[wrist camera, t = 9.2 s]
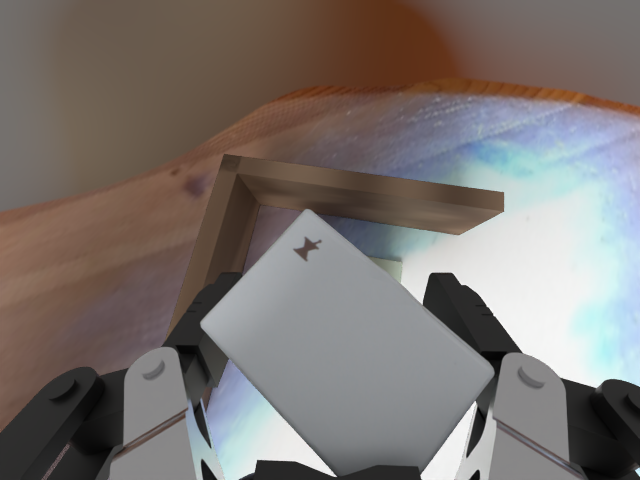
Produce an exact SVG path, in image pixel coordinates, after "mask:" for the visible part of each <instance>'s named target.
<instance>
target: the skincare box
mask: <svg viewBox="0 0 640 480" xmlns="http://www.w3.org/2000/svg"><path fill="white" fill-rule="evenodd" d="M200 324H201V328H202V329H203V330H204V331H205V332H206V333H207V334H208V335H209V336H210V338H211V339H212V340H213V341H214V342H215V343H216V344H217V346H218V347H219V348H220V349H221V350H222V351H223V352H224V353H225V354H226V356H227V357H228V358H229V359H230V360H231V361H232V362H233V363H234V364H235V366H236V367H237V368H238V369H239V370H240V371H241V372H242V373H243V374H244V376H245V377H246V378H247V379H248V380H249V381H250V382H251V383H252V384H253V386H254V387H255V388H256V389H257V390H258V391H259V392H260V393H261V394H262V395H263V396H264V398H265V399H266V400H267V401H268V402H269V403H270V404H271V405H272V406H273V407H274V409H275V410H276V411H277V412H278V413H279V414H280V415H281V416H282V417H283V418H284V419H285V420H286V421H287V422H288V424H289V425H290V426H291V427H292V428H293V429H294V430H295V431H296V432H297V433H298V434H299V435H300V436H301V437H302V439H303V440H304V441H305V442H306V443H307V444H308V445H309V446H310V447H311V448H312V449H313V451H314V452H315V453H316V454H317V455H318V456H319V457H320V458H321V459H322V460H323V461H324V462H325V464H326V465H327V466H328V467H329V468H330V469H331V470H332V471H333V473H334V474H335V475H336V476H337V477H342V476H345V475H348V474H351V473H354V472H357V471H360V470H363V469H366V468H369V467H372V466H375V465H396V466H418V468H419V472H420V475H421V473H422V472H423V471H424V469H425V468H426V467H427V465H428V464H429V463H430V461H431V460H432V459H433V457H434V456H435V455H436V453H437V452H438V451H439V449H440V448H441V447H442V445H443V444H444V442H445V441H446V440H447V438H448V437H449V436H450V434H451V433H452V431H453V430H454V429H455V427H456V426H457V424H458V423H459V422H460V420H461V419H462V418H463V416H464V415H465V414H466V412H467V411H468V409H469V408H470V407H471V405H472V404H473V403H474V401H475V400H476V399H477V397H478V396H479V395H480V393H481V392H482V391H483V389H484V388H485V387H486V385H487V384H488V383H489V382H490V380H491V379H492V378H493V376H494V373H495V372H494V369H493V367H492V366H491V365H490V363H489V362H488V361H487V360H486V359H484V358H483V357H482V356H481V355H480V354H479V353H477V352H476V351H475V350H474V349H473V348H472V347H470V346H469V345H468V344H467V343H466V342H465V341H463V340H462V339H461V338H460V337H459V336H457V335H456V334H455V333H454V332H453V331H452V330H450V329H449V328H448V327H447V326H446V325H445V324H444V323H443V322H441V321H440V320H439V319H438V318H437V317H435V316H434V315H433V314H432V313H431V312H430V311H429V310H427V309H426V308H425V307H424V306H423V305H422V304H421V303H420V302H419V301H417V300H416V299H415V298H414V297H413V296H412V295H411V294H410V292H409V291H408V290H407V289H406V288H405V287H403V286H402V285H401V284H400V283H399V282H398V281H397V280H396V279H395V278H394V277H392V276H391V275H390V274H389V273H388V272H386V271H385V270H384V269H382V268H381V267H379V266H378V265H376V264H375V263H374V262H373V261H372V260H370V259H369V258H368V257H367V256H366V255H364V254H363V253H362V252H361V251H360V250H358V249H357V248H356V247H355V246H354V245H353V244H351V243H350V242H349V241H348V240H347V239H345V238H344V237H343V236H342V235H341V234H339V233H338V232H337V231H336V230H335V229H333V228H332V227H331V226H330V225H329V224H327V223H326V222H325V221H324V220H323V219H321V218H320V217H319V216H318V215H317V214H315V213H314V212H313V211H312V210H310V209H305V210H304V211H303V212H302V213H301V214H300V215H299V216H298V217H297V218H296V219H295V221H294V222H293V223H292V224H291V225H290V226H289V227H288V228H287V229H286V230H285V232H284V233H283V234H282V235H281V236H280V237H279V238H278V239H277V240H276V241H275V242H274V243H273V244H272V246H271V247H270V248H269V249H268V250H267V251H266V252H265V253H264V254H263V255H262V256H261V257H260V258H259V260H258V261H257V262H256V263H255V264H254V265H253V266H252V267H251V268H250V269H249V270H248V271H247V272H246V274H245V275H244V276H243V277H242V278H241V279H240V280H239V281H238V282H237V283H236V284H235V285H234V286H233V287H232V288H231V290H230V291H229V292H228V293H227V294H226V295H225V296H224V297H223V298H222V299H221V300H220V301H219V302H218V303H217V304H216V305H215V307H214V308H213V309H212V310H211V311H210V312H209V313H208V314H207V315H206V316H205V317H204V318H203V319H202V321H201V322H200Z"/></svg>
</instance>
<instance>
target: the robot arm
mask: <svg viewBox="0 0 640 480" xmlns="http://www.w3.org/2000/svg"><path fill="white" fill-rule="evenodd" d="M242 277H243V276H242V274H241V273H240V272H222V273H221V274H220V275H219V277H218V278H217V280H216V281H215V283H214V284H208V285H207V286H206V287H205V288H203V289H202V290H201V291H200V292H198V294H197V295H196V297H195V298H194V300H193V301H192V304H190V306H189V307H188V308H187V310H186V313H184V314H183V316H182V317H181V319H180V320H179V322H178V323H177V325H176V326H175V327H174V329H173V330H172V332H171V333H170V335H169V336H168V338H167V339H166V341H165V342H164V344H163V345H162V346H161V347H160V348H156V349H154V350H151V351H149V352H147V353H146V354H144V355H142V356H141V357H140V358H138V359H137V360H136V361H135V362H134V363H133V364H132V365H131V367H130V368H127V369H123V370H120V371H116V372H112V373H109V374H105V375H101V376H99V375H98V374H97V373H96V371H95V370H94V369H92V368H90V367H80V368H76V369H73V370H70V371H68V372H66V373H64V374H62V375H60V376H58V377H57V378H55V379H54V380H52V381H51V382H50V383H48V384H47V385H46V386H45V387H44V388H42V389H41V390H40V391H39V392H38V394H37V395H36V396H35V397H34V398H33V399H32V400H31V401H30V402H29V403H28V404H27V405H26V406H25V407H24V408H23V409H22V411H21V412H20V413H19V414H18V415H17V416H16V417H15V418H14V419H13V420H12V421H11V422H10V423H9V424H8V425H7V426H6V428H5V429H4V430H3V431H2V432H1V433H0V480H41V479H42V478H43V476H44V475H45V473H46V472H47V471H48V469H49V468H50V466H51V465H52V464H53V462H54V461H55V459H56V458H57V457H58V455H59V454H60V452H61V451H62V450H63V448H64V447H65V446H66V444H69V445H70V447H69V449H68V450H67V452H66V453H65V454H64V456H63V457H62V459H61V460H60V462H59V463H58V464H57V466H56V467H55V469H54V470H53V472H52V473H51V474H50V476H49V477H48V479H47V480H107V479H108V478H109V476H110V479H109V480H225V478H224V474H223V471H222V468H221V466H220V463H219V461H218V458H217V455H216V452H215V448H214V444H213V440H212V436H211V432H210V428H209V424H208V420H207V416H206V412H205V408H204V405H203V401H202V398H201V397H202V395H203V393H204V390H205V388H206V387H218V384H219V382H220V379H221V377H222V374H223V372H224V369H225V366H226V364H227V361H228V359H229V358H228V357H227V356H226V354H225V353H224V352H223V351H222V350H221V349H220V348H219V347H218V346H217V344H216V343H215V342H214V341H213V340H212V339H211V338H210V336H209V335H208V334H207V333H206V332H205V331H204V330H203V329H202V328H201V324H200V322H201V321H202V319H203V318H204V317H205V316H206V315H207V314H208V313H209V312H210V311H211V310H212V309H213V308H214V307H215V305H216V304H217V303H218V302H219V301H220V300H221V299H222V298H223V297H224V296H225V295H226V294H227V293H228V292H229V291H230V290H231V288H232V287H233V286H234V285H235V284H236V283H237V282H238V281H239V280H240V279H241V278H242ZM423 306H424V307H425V308H426V309H427V310H429V311H430V312H431V313H432V314H433V315H434V316H435V317H437V318H438V319H439V320H440V321H441V322H443V323H444V324H445V325H446V326H447V327H448V328H449V329H450V330H452V331H453V332H454V333H455V334H456V335H457V336H459V337H460V338H461V339H462V340H463V341H465V342H466V343H467V344H468V345H469V346H470V347H472V348H473V349H474V350H475V351H476V352H477V353H479V354H480V355H481V356H482V357H483V358H484V359H486V360H487V361H488V362H489V363H490V365H491V366H492V367H493V369H494V372H495V373H494V376H493V378H492V379H491V380H490V382H489V383H488V384H487V385H486V387H485V388H484V389H483V391H482V392H481V393H480V395H479V396H478V397H477V399H476V400H475V401H476V405H475V407H474V411H473V415H472V419H471V423H470V427H469V432H468V436H467V440H466V444H465V448H464V452H463V456H462V460H461V463H460V466H459V469H458V471H457V474H456V476H455V479H454V480H640V477H639V475H638V474H637V473H636V472H635V470H636V469H638V468H640V387H639V386H636V385H634V384H632V383H629V382H626V381H622V380H617V379H609V380H606V381H604V382H603V383H602V384H601V385H600V386H599V387H598V388H594V387H591V386H587V385H584V384H580V383H577V382H573V381H570V380H566V379H563V378H560V377H559V376H558V375H557V374H556V373H555V372H554V371H553V370H552V369H551V368H550V367H549V366H547V365H546V364H544V363H543V362H541V361H540V360H538V359H536V358H534V357H532V356H529V355H526V354H523V353H522V351H521V350H520V349H519V347H518V346H517V345H516V344H515V342H514V341H513V340H512V338H511V337H510V336H509V334H508V333H507V332H506V330H505V329H504V328H503V326H502V325H501V324H500V322H499V321H498V320H497V318H496V317H495V316H493V313H492V312H491V310H490V309H489V308H488V307H486V304H485V303H484V301H483V300H482V299H481V297H480V296H479V295H478V294H477V293H476V292H474V291H473V290H472V289H470V288H469V287H468V286H466V285H461V284H460V283H459V281H458V280H457V279H456V277H455V276H454V274H452V273H431V274H430V276H429V279H428V283H427V287H426V291H425V295H424V299H423ZM239 480H421V476H420V472H419V468H418V466H396V465H375V466H372V467H369V468H366V469H363V470H360V471H357V472H354V473H351V474H348V475H345V476H342V477H333V476H330V475H328V474H325V473H323V472H320V471H318V470H315V469H313V468H310V467H308V466H305V465H303V464H301V463H298V462H293V461H268V460H257V464H256V469H255V473H252V474H249V475H247V476H245V477H243V478H241V479H239Z"/></svg>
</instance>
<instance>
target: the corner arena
mask: <svg viewBox="0 0 640 480" xmlns="http://www.w3.org/2000/svg"><path fill="white" fill-rule="evenodd" d="M260 204H261V205H267V206H274V207H280V208H287V209H293V210H299V211H304V210H305V209H310V210H312V211H313V212H314V213H319V214H325V215H332V216H338V217H345V218H351V219H358V220H364V221H370V222H377V223H383V224H390V225H396V226H403V227H409V228H416V229H422V230H428V231H435V232H441V233H448V234H454V235H460V234H462V233H464V232H466V231H468V230H470V229H472V228H474V227H475V226H477V225H479V224H481V223H483V222H485V221H487V220H489V219H491V218H493V217H495V216H496V215H498V214H500V213H502V212H504V192H498V191H490V190H483V189H476V188H468V187H461V186H454V185H446V184H439V183H432V182H425V181H417V180H410V179H403V178H395V177H388V176H381V175H373V174H366V173H359V172H352V171H344V170H337V169H330V168H322V167H315V166H308V165H300V164H293V163H286V162H279V161H271V160H264V159H257V158H249V157H242V156H235V155H228V154H224V156H223V159H222V162H221V165H220V169H219V172H218V175H217V178H216V181H215V184H214V187H213V191H212V194H211V197H210V200H209V203H208V206H207V210H206V213H205V216H204V219H203V222H202V225H201V228H200V232H199V235H198V238H197V241H196V244H195V247H194V250H193V254H192V257H191V260H190V263H189V266H188V269H187V273H186V276H185V279H184V282H183V285H182V288H181V291H180V295H179V298H178V301H177V304H176V307H175V310H174V313H173V317H172V320H171V323H170V326H169V329H168V332H167V336H166V339H167V338H168V336H169V335H170V333H171V332H172V330H173V329H174V327H175V326H176V325H177V323H178V322H179V320H180V319H181V317H182V316H183V314H184V313H186V310H187V308H188V307H189V306H190V304H192V301H193V300H194V298H195V297H196V295H197V294H198V292H200V291H201V290H202V289H203V288H205V287H206V286H207V285H208V284H214V283H215V281H216V280H217V278H218V277H219V275H220V274H221V273H222V272H240V273H241V274H242V271H243V267H244V264H245V260H246V256H247V252H248V248H249V244H250V241H251V237H252V233H253V229H254V225H255V221H256V218H257V214H258V210H259V206H260ZM367 257H368V258H369V259H370V260H372V261H373V262H374V263H375V264H376V265H378V266H379V267H381V268H382V269H384V270H385V271H386V272H388V273H389V274H390V275H391V276H392V277H394V278H395V279H396V280H397V281H398V282H399V283H400V282H401V272H402V262H398V261H392V260H386V259H380V258H375V257H369V256H367ZM166 339H165V341H166ZM211 390H212V387H206V388H205V390H204V393H203V395H202V397H201V398H202V401H203V405H204V408H205V412H206V409H207V405H208V402H209V398H210V394H211Z"/></svg>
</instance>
